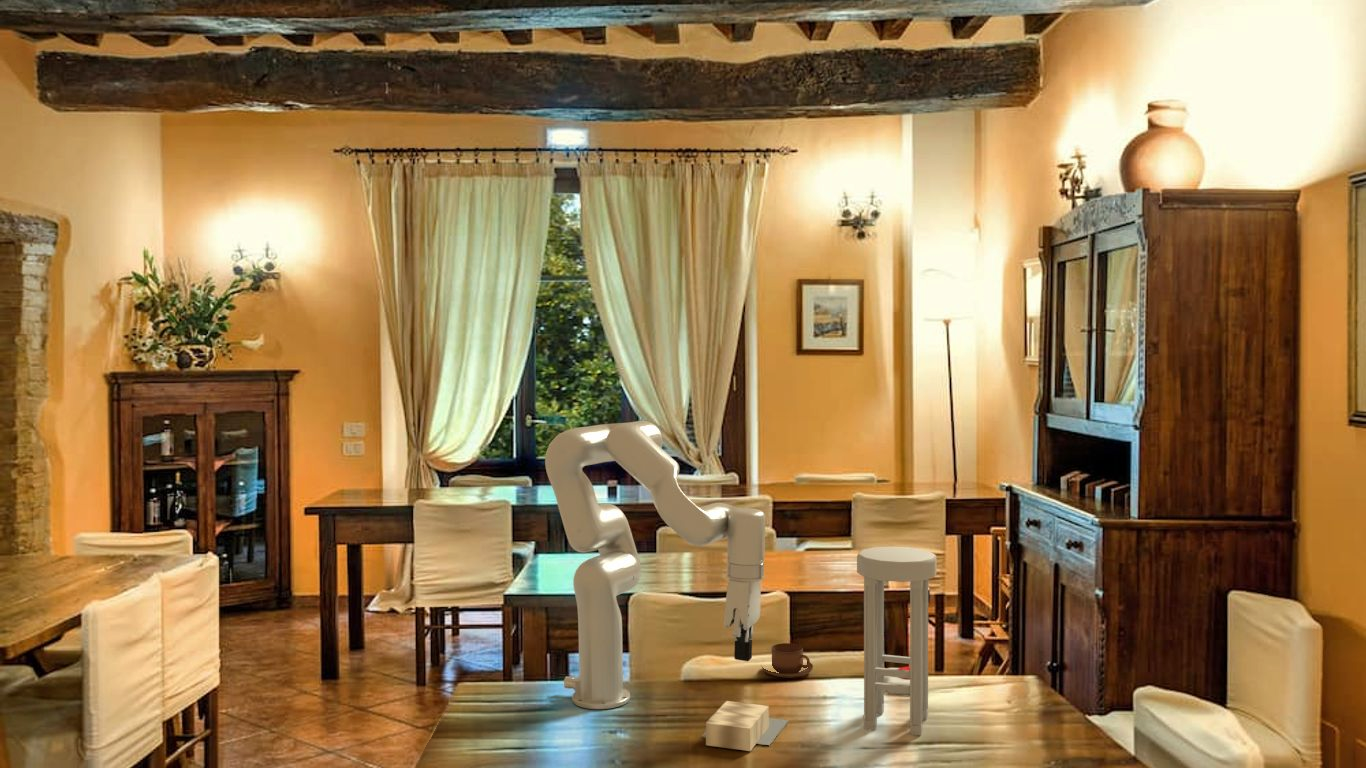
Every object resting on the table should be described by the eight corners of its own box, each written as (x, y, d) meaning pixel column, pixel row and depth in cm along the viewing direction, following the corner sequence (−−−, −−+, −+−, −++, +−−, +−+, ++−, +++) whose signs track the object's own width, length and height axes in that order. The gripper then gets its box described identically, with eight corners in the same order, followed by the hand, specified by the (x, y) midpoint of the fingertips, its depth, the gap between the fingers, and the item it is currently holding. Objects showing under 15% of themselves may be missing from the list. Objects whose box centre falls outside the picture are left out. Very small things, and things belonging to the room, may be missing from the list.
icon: (877, 659, 249) (921, 661, 248) (877, 677, 249) (921, 679, 248) (879, 676, 237) (925, 678, 236) (879, 695, 237) (925, 697, 236)
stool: (865, 705, 230) (865, 544, 228) (939, 713, 225) (939, 548, 223) (851, 731, 216) (851, 558, 214) (930, 740, 210) (930, 563, 209)
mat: (701, 737, 213) (701, 736, 213) (723, 713, 226) (723, 712, 226) (769, 746, 208) (769, 745, 208) (788, 721, 221) (788, 720, 221)
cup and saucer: (817, 668, 256) (817, 642, 256) (806, 684, 245) (806, 657, 245) (769, 663, 260) (768, 638, 260) (755, 679, 249) (755, 652, 249)
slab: (726, 722, 220) (705, 745, 208) (726, 700, 220) (705, 722, 208) (769, 727, 217) (750, 751, 205) (768, 705, 217) (750, 728, 205)
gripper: (739, 560, 225) (736, 646, 226) (715, 576, 211) (713, 667, 212) (773, 564, 222) (771, 651, 223) (752, 580, 208) (749, 673, 209)
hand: (742, 659), depth 218 cm, fingers closed
